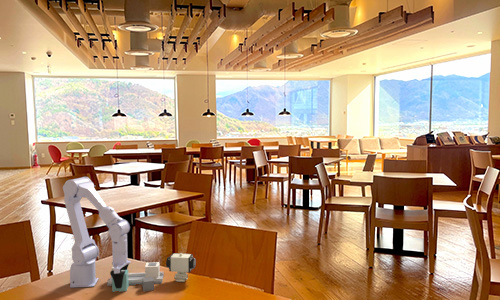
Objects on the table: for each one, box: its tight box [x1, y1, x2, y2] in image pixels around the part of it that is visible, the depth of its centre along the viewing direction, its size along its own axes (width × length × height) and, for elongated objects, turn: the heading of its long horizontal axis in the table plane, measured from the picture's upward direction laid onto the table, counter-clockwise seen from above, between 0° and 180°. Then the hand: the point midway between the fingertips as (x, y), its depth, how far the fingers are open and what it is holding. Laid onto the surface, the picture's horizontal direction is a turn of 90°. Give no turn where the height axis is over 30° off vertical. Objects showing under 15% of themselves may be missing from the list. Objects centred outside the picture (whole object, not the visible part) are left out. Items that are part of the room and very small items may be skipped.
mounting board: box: [106, 261, 165, 287], centre depth 170 cm, size 22×10×7 cm, turn 98°
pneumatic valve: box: [165, 252, 197, 283], centre depth 169 cm, size 6×12×12 cm, turn 84°
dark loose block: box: [141, 277, 155, 292], centre depth 161 cm, size 4×4×4 cm
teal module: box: [111, 269, 130, 293], centre depth 160 cm, size 6×4×7 cm
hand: (120, 284), depth 161 cm, fingers open, 7 cm apart
